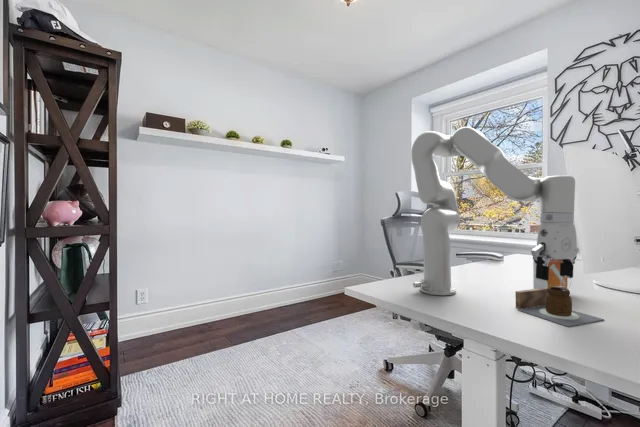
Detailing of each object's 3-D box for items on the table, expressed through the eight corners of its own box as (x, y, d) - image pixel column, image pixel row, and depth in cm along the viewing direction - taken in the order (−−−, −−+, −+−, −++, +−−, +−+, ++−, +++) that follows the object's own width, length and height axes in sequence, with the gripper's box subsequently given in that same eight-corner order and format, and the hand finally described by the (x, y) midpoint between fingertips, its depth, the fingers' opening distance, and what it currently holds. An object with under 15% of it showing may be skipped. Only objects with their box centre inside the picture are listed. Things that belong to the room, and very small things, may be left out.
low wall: (520, 308, 92) (520, 292, 92) (515, 307, 93) (515, 291, 93) (566, 301, 98) (566, 286, 98) (561, 300, 99) (561, 285, 99)
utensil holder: (575, 318, 82) (574, 274, 82) (547, 315, 84) (546, 272, 84) (567, 311, 87) (567, 270, 87) (541, 308, 90) (541, 269, 90)
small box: (548, 295, 105) (547, 258, 104) (532, 291, 111) (532, 256, 111) (568, 294, 106) (568, 257, 106) (552, 290, 112) (551, 255, 112)
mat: (568, 327, 77) (568, 325, 77) (517, 310, 90) (517, 308, 90) (604, 320, 81) (604, 318, 81) (550, 305, 94) (550, 303, 94)
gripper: (548, 220, 80) (545, 283, 80) (592, 219, 85) (589, 279, 85) (521, 218, 87) (519, 276, 87) (563, 218, 92) (561, 273, 92)
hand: (554, 278), depth 86 cm, fingers open, 9 cm apart
